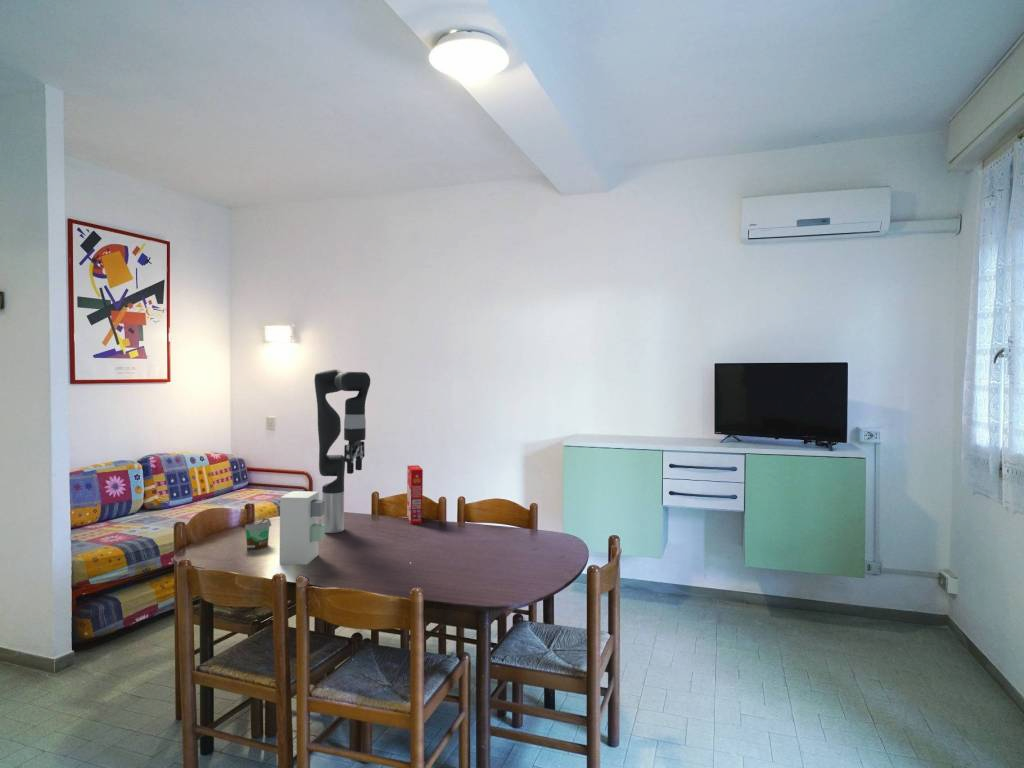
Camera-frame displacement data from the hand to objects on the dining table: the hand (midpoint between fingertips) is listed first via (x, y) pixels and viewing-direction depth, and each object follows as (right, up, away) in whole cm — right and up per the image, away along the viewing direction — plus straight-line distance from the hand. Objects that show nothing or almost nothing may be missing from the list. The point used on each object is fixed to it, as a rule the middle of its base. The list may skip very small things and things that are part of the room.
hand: (354, 471), depth 220 cm
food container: (-42, -33, +21) cm, 57 cm away
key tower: (-22, -33, +5) cm, 40 cm away
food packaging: (+11, -33, +69) cm, 77 cm away
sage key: (-16, -26, +5) cm, 30 cm away
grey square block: (-16, -17, +4) cm, 23 cm away
